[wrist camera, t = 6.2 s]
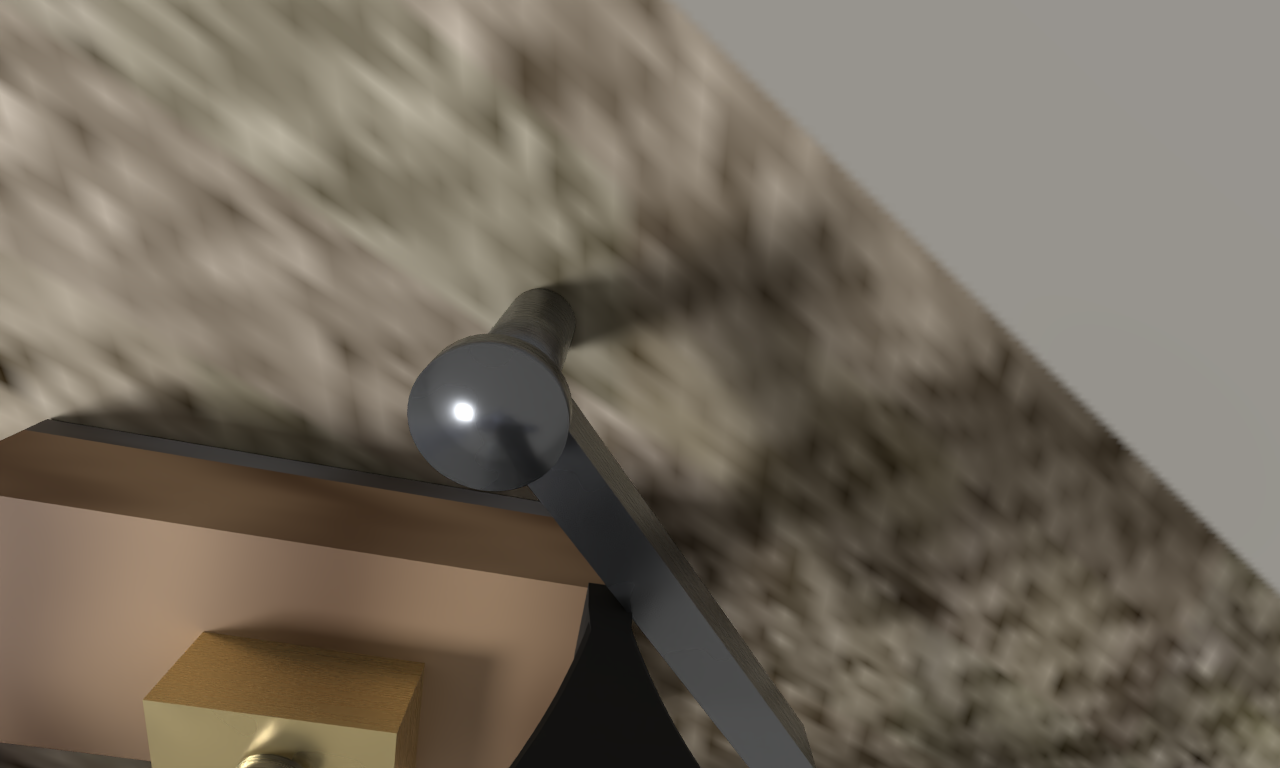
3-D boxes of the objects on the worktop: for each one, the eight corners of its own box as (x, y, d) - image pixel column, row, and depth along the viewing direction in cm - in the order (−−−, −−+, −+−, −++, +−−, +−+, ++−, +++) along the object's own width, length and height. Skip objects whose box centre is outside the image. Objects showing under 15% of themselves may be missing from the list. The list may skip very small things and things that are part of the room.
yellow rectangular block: (212, 747, 15) (138, 852, 13) (203, 631, 14) (118, 726, 11) (414, 773, 15) (377, 879, 13) (425, 662, 14) (385, 761, 12)
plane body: (87, 645, 18) (-17, 740, 15) (47, 419, 15) (-89, 481, 12) (589, 715, 19) (582, 814, 16) (637, 517, 16) (637, 595, 13)
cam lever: (719, 646, 18) (753, 848, 13) (469, 305, 14) (373, 397, 9) (791, 613, 17) (857, 808, 12) (554, 251, 13) (506, 315, 8)
